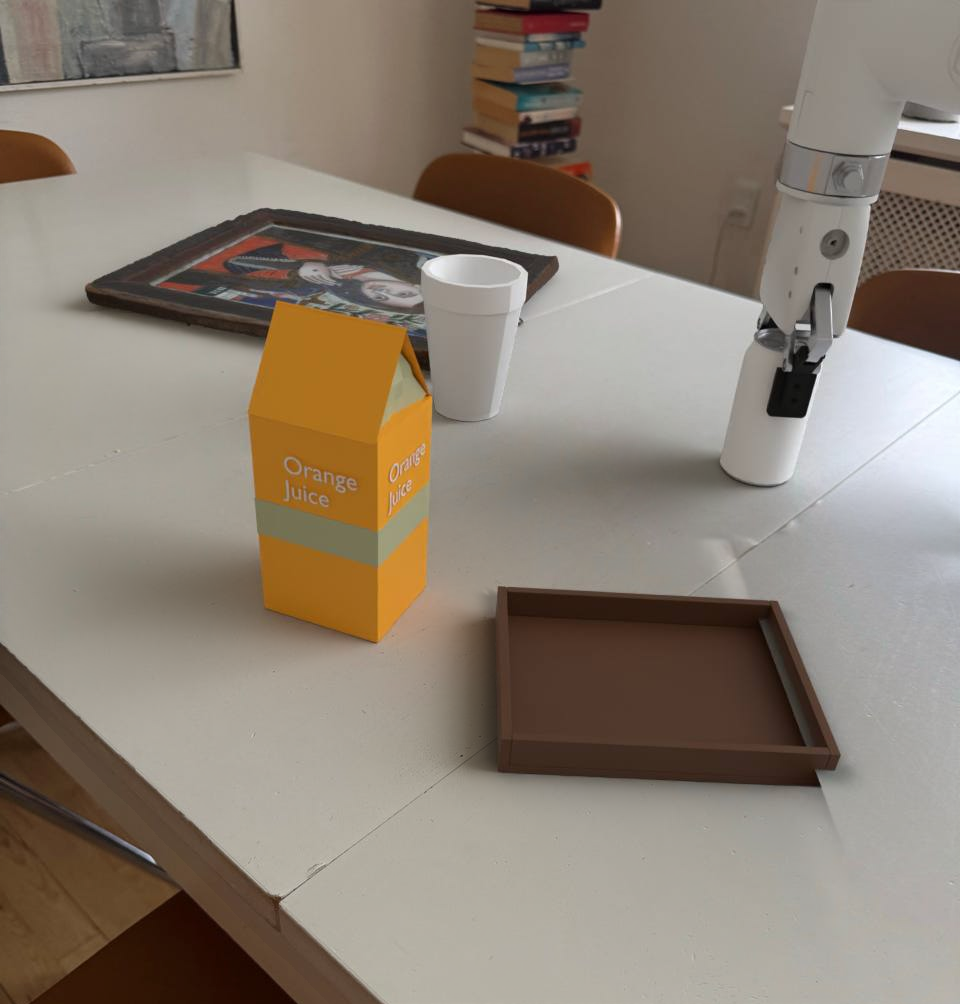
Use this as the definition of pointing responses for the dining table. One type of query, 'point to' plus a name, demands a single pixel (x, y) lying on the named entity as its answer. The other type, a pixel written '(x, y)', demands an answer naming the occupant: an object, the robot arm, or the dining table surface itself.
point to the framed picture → (295, 273)
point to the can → (762, 418)
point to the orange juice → (340, 470)
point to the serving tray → (652, 689)
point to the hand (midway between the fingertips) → (774, 394)
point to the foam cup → (471, 330)
